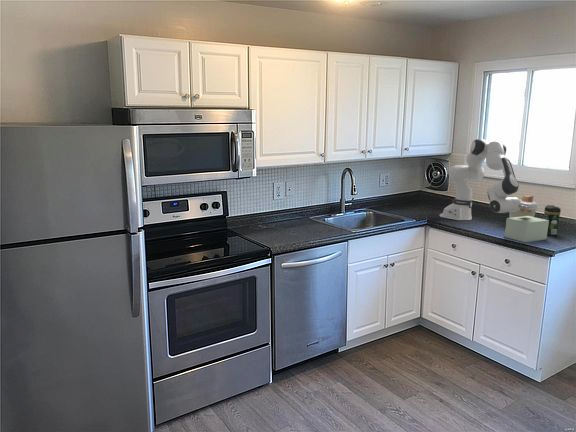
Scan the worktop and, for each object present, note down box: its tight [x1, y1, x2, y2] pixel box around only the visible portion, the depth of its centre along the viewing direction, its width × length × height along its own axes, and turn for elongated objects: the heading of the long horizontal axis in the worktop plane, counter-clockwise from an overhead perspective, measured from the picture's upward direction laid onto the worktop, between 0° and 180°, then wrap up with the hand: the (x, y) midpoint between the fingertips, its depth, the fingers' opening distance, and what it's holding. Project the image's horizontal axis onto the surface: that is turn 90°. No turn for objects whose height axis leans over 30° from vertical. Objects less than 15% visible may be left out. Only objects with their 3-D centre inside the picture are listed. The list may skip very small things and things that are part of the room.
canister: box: [508, 195, 539, 218], centre depth 315 cm, size 18×18×21 cm
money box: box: [503, 216, 549, 243], centre depth 284 cm, size 20×14×12 cm
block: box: [521, 195, 534, 213], centre depth 282 cm, size 6×3×10 cm, turn 117°
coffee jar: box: [543, 204, 562, 236], centre depth 296 cm, size 10×8×19 cm
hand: (528, 203), depth 283 cm, fingers closed on block, 3 cm apart
